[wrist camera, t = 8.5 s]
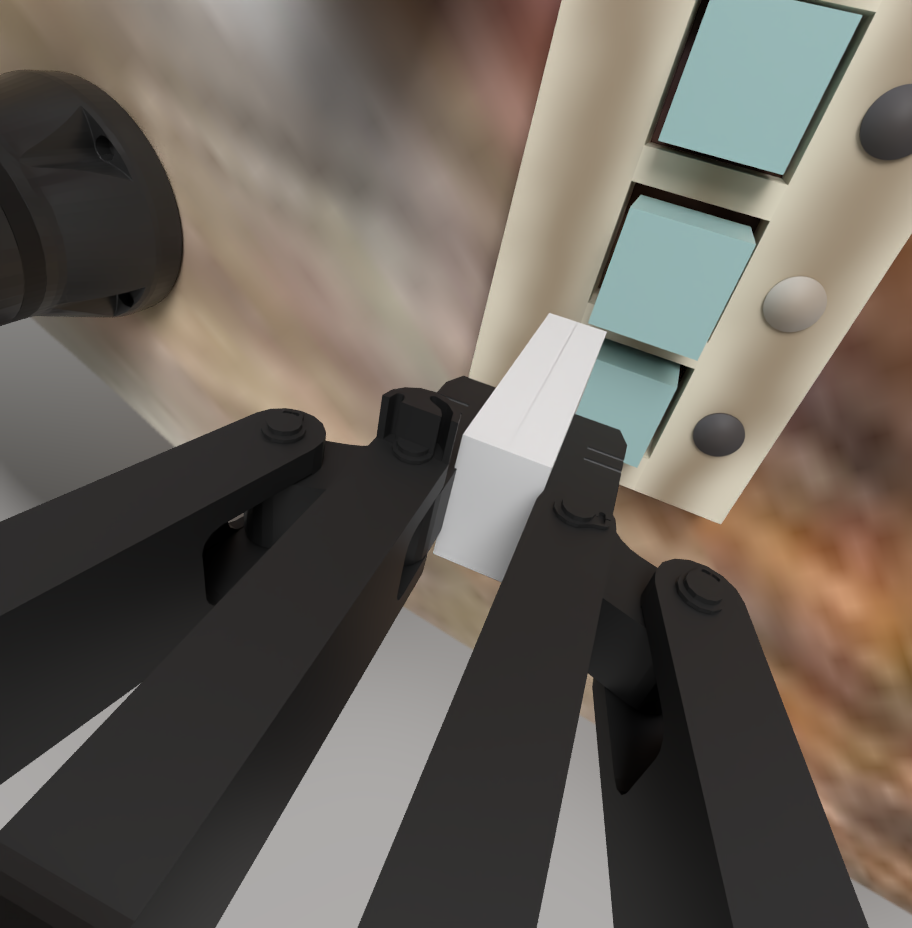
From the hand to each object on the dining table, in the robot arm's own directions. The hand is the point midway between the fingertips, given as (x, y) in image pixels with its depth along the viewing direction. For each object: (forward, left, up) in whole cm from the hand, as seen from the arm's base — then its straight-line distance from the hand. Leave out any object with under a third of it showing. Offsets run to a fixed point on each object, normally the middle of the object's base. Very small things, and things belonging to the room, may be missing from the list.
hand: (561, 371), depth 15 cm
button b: (+2, 0, -15) cm, 15 cm away
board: (+2, 0, -18) cm, 18 cm away
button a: (+2, -7, -17) cm, 18 cm away
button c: (+2, +7, -17) cm, 18 cm away
